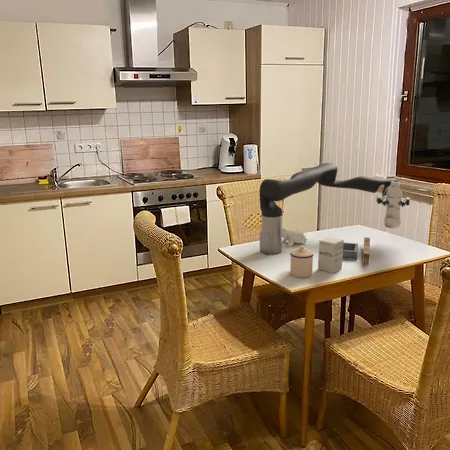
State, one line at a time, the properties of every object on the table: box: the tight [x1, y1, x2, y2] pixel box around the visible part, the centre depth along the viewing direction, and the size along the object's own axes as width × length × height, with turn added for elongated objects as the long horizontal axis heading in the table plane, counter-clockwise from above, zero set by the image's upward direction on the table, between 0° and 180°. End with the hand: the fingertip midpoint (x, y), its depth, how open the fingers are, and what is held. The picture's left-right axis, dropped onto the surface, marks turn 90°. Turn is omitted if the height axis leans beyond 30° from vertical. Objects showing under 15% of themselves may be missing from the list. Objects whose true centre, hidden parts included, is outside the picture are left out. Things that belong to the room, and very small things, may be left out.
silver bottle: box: [383, 180, 404, 229], centre depth 190 cm, size 6×7×20 cm
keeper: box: [342, 242, 359, 260], centre depth 202 cm, size 12×12×4 cm
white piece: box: [282, 226, 308, 247], centre depth 218 cm, size 9×8×15 cm
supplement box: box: [317, 236, 345, 274], centre depth 182 cm, size 7×7×13 cm
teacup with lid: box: [289, 245, 314, 279], centre depth 179 cm, size 12×9×12 cm
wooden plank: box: [362, 236, 371, 266], centre depth 199 cm, size 24×2×5 cm, turn 163°
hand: (393, 203), depth 188 cm, fingers closed on silver bottle, 6 cm apart
